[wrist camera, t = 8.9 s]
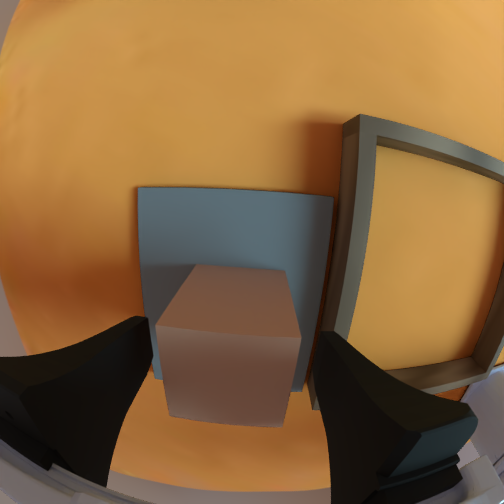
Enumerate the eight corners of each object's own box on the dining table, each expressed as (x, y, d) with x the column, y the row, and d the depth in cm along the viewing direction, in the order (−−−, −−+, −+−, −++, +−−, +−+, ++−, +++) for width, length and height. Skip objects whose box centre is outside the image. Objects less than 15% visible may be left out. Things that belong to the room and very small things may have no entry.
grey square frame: (520, 180, 12) (542, 183, 9) (473, 362, 16) (487, 378, 14) (343, 123, 12) (359, 113, 10) (307, 383, 16) (312, 410, 14)
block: (285, 270, 13) (301, 337, 8) (276, 344, 15) (282, 427, 9) (196, 264, 14) (155, 324, 8) (197, 337, 15) (169, 415, 9)
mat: (330, 196, 13) (334, 197, 12) (300, 385, 16) (301, 391, 16) (142, 187, 13) (137, 187, 13) (157, 373, 16) (155, 378, 16)
